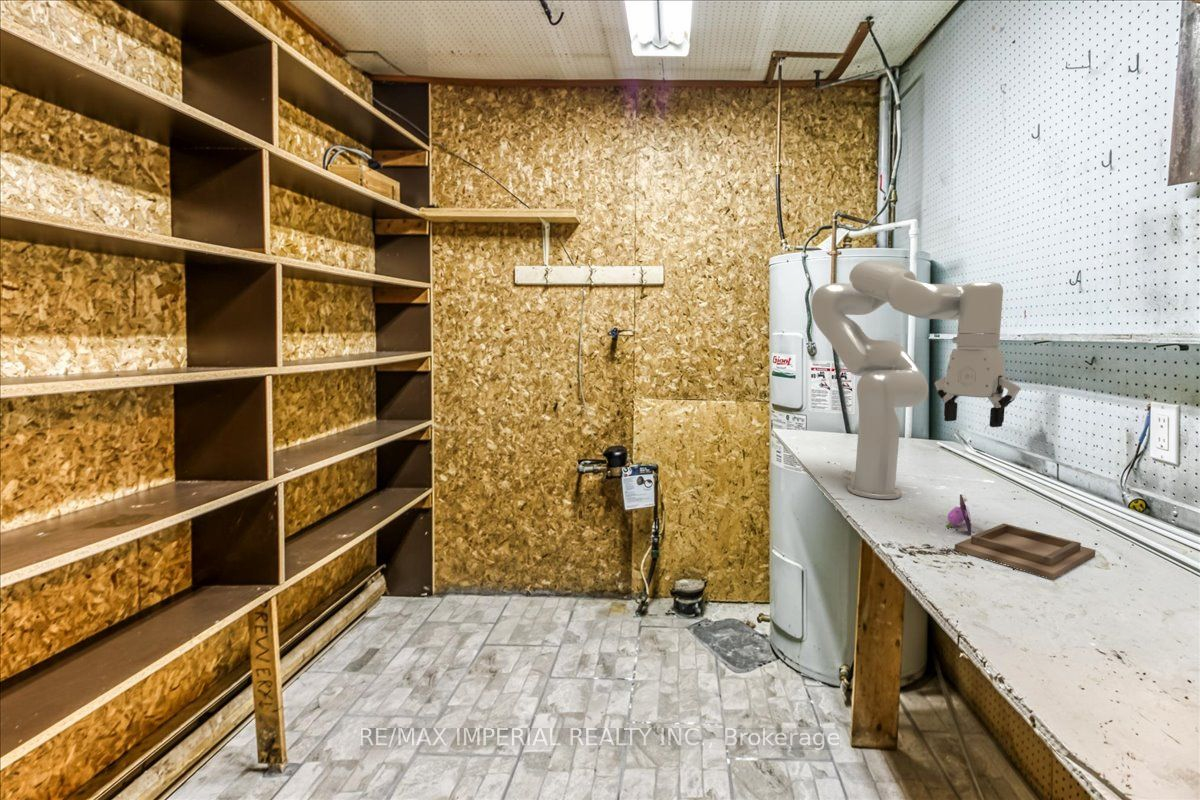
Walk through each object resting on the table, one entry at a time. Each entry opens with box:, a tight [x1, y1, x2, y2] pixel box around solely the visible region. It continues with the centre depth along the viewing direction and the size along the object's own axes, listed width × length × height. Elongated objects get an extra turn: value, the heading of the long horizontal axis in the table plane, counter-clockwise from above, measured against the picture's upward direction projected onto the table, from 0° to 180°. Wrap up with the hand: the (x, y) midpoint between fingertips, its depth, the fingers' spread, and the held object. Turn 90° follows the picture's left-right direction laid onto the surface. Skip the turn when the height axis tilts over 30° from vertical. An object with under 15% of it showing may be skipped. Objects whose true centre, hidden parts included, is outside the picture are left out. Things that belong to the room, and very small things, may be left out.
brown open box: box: [954, 523, 1096, 580], centre depth 114 cm, size 16×20×3 cm
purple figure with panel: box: [945, 494, 972, 535], centre depth 128 cm, size 7×5×9 cm
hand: (972, 423), depth 127 cm, fingers open, 9 cm apart
